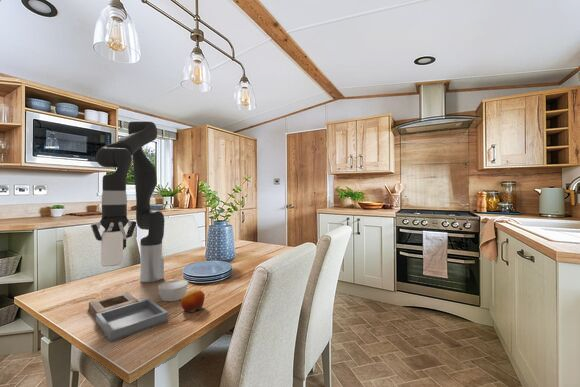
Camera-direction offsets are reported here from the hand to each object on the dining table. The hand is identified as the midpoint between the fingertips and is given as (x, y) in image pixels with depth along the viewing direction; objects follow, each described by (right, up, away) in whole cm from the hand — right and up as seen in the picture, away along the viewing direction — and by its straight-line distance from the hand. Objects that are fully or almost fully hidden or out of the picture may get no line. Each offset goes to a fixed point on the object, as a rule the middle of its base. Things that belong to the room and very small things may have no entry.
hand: (114, 250), depth 93 cm
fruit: (+28, -22, +1) cm, 36 cm away
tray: (+12, -21, -9) cm, 26 cm away
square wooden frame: (-1, -21, +1) cm, 21 cm away
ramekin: (+16, -22, +11) cm, 29 cm away
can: (0, -5, -1) cm, 5 cm away
